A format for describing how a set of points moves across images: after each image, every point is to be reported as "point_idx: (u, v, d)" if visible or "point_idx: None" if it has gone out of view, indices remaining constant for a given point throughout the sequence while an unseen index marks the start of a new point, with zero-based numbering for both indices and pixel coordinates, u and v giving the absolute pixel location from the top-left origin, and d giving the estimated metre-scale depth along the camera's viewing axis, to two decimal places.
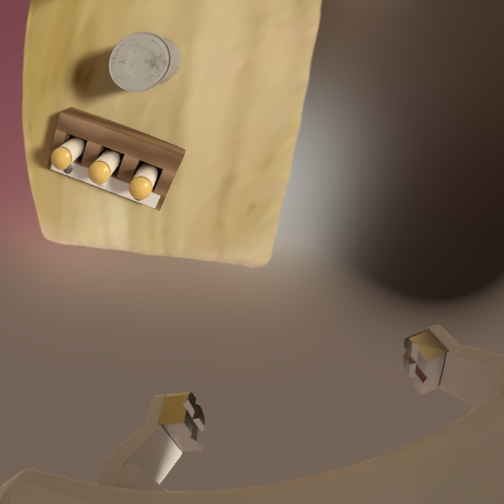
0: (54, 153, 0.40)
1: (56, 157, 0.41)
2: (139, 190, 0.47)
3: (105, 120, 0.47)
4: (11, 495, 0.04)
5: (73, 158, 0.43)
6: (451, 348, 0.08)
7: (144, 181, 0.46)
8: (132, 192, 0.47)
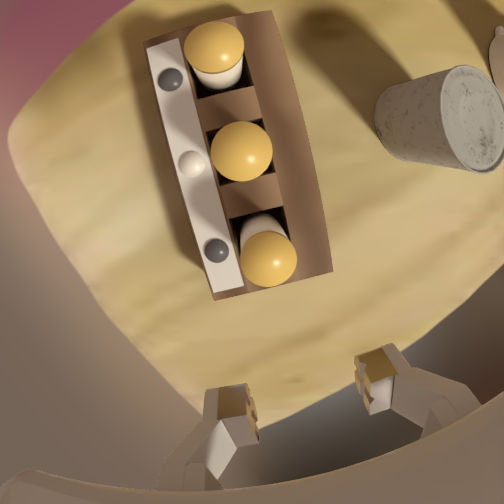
0: (217, 26, 0.16)
1: (211, 34, 0.16)
2: (265, 262, 0.22)
3: None
4: (11, 495, 0.04)
5: (222, 74, 0.19)
6: (401, 370, 0.08)
7: (291, 259, 0.22)
8: (250, 251, 0.21)
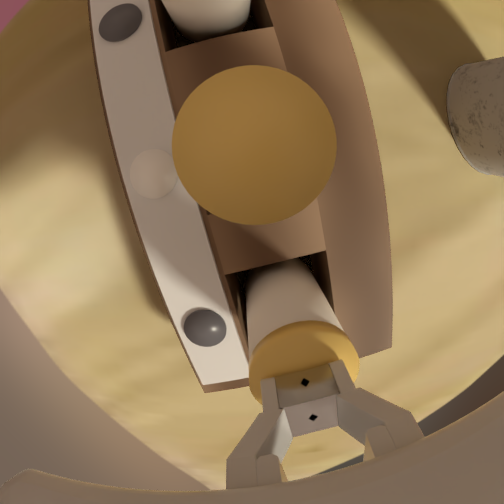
0: None
1: None
2: None
3: None
4: (11, 495, 0.04)
5: None
6: (343, 390, 0.08)
7: (349, 371, 0.10)
8: (269, 366, 0.10)
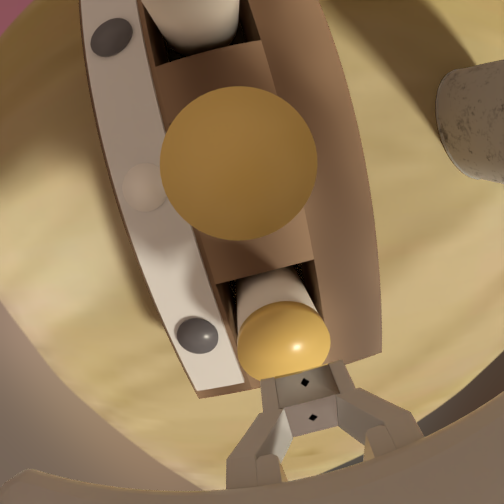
0: None
1: None
2: (278, 352, 0.12)
3: None
4: (11, 495, 0.04)
5: (198, 1, 0.07)
6: (343, 390, 0.08)
7: (322, 345, 0.12)
8: (254, 338, 0.12)
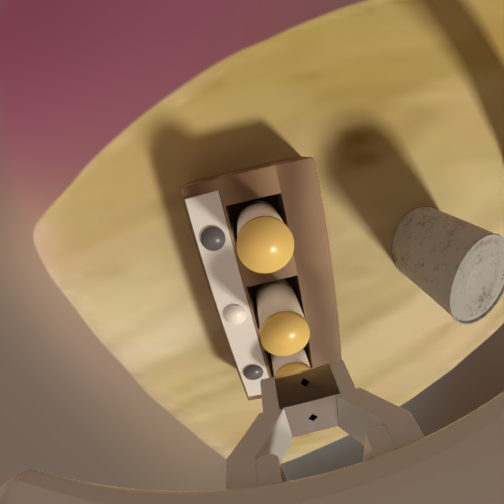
0: (268, 224, 0.21)
1: (263, 234, 0.21)
2: None
3: None
4: (11, 495, 0.04)
5: None
6: (343, 390, 0.08)
7: None
8: None
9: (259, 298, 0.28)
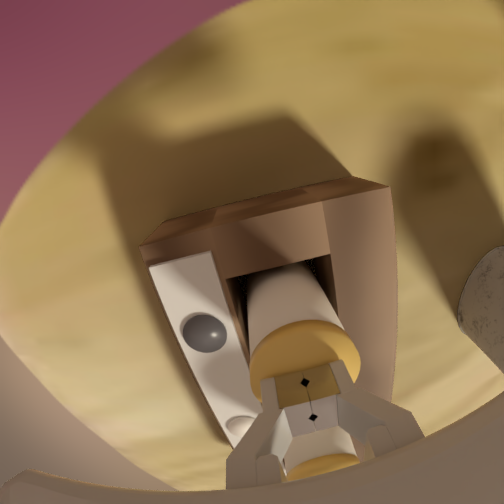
0: (317, 343, 0.09)
1: (305, 360, 0.10)
2: None
3: None
4: (11, 495, 0.04)
5: None
6: (344, 390, 0.08)
7: None
8: None
9: None
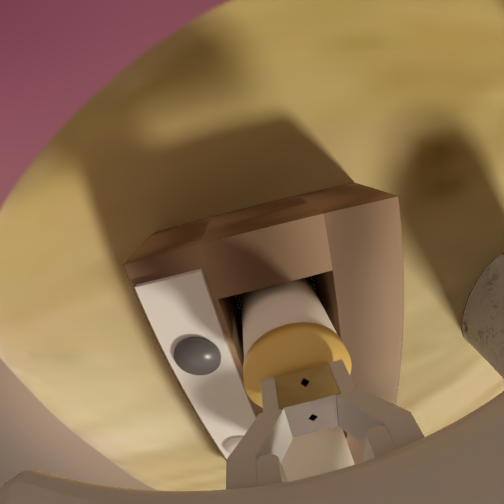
0: (308, 345, 0.10)
1: (296, 361, 0.10)
2: None
3: None
4: (11, 495, 0.04)
5: None
6: (343, 390, 0.08)
7: None
8: None
9: None
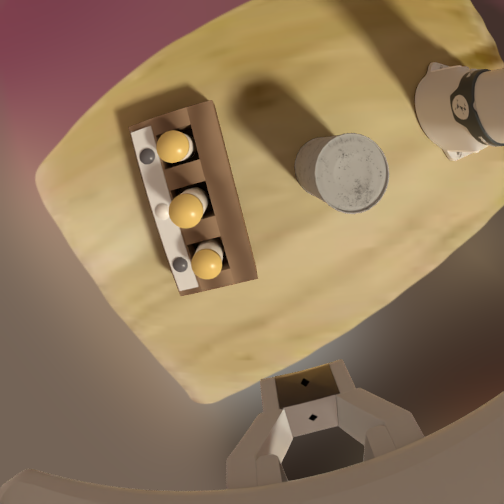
0: (173, 133, 0.33)
1: (170, 139, 0.34)
2: (204, 265, 0.39)
3: (228, 160, 0.42)
4: (11, 495, 0.04)
5: None
6: (343, 390, 0.08)
7: (218, 264, 0.39)
8: (196, 260, 0.39)
9: None
